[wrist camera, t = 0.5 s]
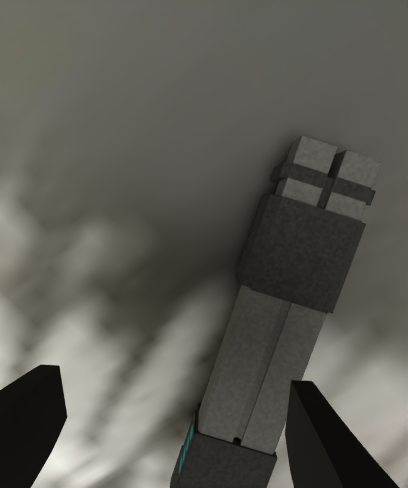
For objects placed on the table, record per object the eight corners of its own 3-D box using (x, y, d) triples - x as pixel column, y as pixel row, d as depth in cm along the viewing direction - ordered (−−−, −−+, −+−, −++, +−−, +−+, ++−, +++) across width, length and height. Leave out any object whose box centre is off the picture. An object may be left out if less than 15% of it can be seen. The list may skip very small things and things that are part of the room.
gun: (171, 438, 22) (151, 591, 12) (250, 182, 23) (294, 127, 13) (229, 455, 22) (257, 622, 12) (307, 200, 23) (393, 159, 13)
